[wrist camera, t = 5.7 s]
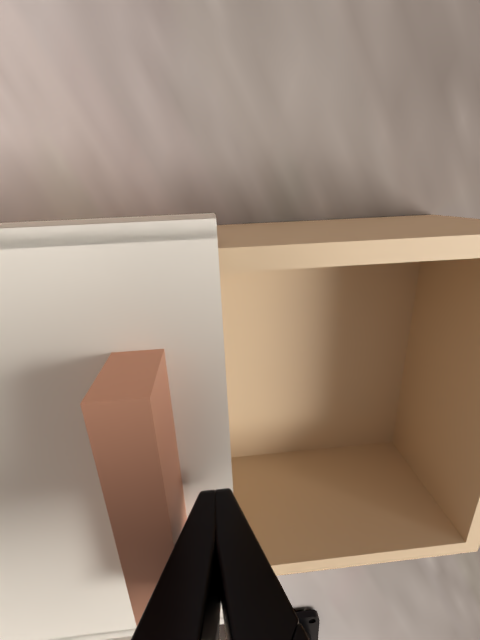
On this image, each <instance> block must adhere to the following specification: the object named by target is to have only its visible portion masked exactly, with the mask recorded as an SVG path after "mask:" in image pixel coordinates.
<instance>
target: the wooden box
mask: <svg viewBox="0 0 480 640" xmlns="http://www.w3.org/2000/svg"><path fill="white" fill-rule="evenodd" d="M217 239H218V255H219V271H220V287H221V303H222V319H223V335H224V351H225V367H226V383H227V399H228V415H229V431H230V447H231V463H232V479H233V494H234V496H235V498H236V500H237V502H238V504H239V506H240V507H241V509H242V511H243V513H244V515H245V517H246V519H247V521H248V523H249V525H250V527H251V529H252V531H253V532H254V534H255V536H256V538H257V540H258V542H259V544H260V546H261V548H262V550H263V552H264V554H265V555H266V557H267V559H268V561H269V563H270V565H271V567H272V569H273V571H274V573H275V575H276V576H278V575H286V574H295V573H303V572H311V571H319V570H328V569H336V568H344V567H352V566H361V565H369V564H377V563H385V562H393V561H402V560H410V559H418V558H426V557H435V556H443V555H451V554H459V553H468V552H476V551H478V548H479V545H480V219H472V218H462V217H451V216H441V215H415V216H395V217H374V218H354V219H333V220H312V221H292V222H271V223H250V224H230V225H217Z"/></svg>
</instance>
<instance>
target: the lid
mask: <svg viewBox="0 0 480 640" xmlns="http://www.w3.org/2000/svg"><path fill="white" fill-rule="evenodd" d="M223 488H230V489H231V490H232V492H233V479H232V463H231V447H230V431H229V415H228V399H227V383H226V367H225V351H224V335H223V319H222V303H221V287H220V271H219V255H218V239H217V223H216V216H215V213H202V214H180V215H158V216H136V217H115V218H93V219H71V220H49V221H28V222H6V223H0V640H105V639H112V638H120V637H128V636H133V634H134V632H135V629H136V627H137V625H138V623H139V621H140V619H141V617H142V614H143V612H144V610H145V608H146V606H147V604H148V602H149V599H150V597H151V595H152V593H153V591H154V589H155V587H156V584H157V582H158V580H159V578H160V576H161V574H162V572H163V569H164V567H165V565H166V563H167V561H168V559H169V557H170V554H171V552H172V550H173V548H174V546H175V544H176V542H177V539H178V537H179V535H180V533H181V531H182V529H183V527H184V524H185V522H186V520H187V518H188V516H189V514H190V512H191V509H192V507H193V505H194V503H195V501H196V499H197V497H198V494H199V493H200V492H201V491H204V490H216V489H223ZM220 624H224V620H223V613H222V605H221V610H220Z"/></svg>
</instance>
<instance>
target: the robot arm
mask: <svg viewBox="0 0 480 640" xmlns="http://www.w3.org/2000/svg"><path fill="white" fill-rule="evenodd" d="M221 605H222V613H223V620H224V627H225V634H226V640H318V631H319V617H318V613H317V611H315V610H308V611H300V612H295V611H294V609H293V607H292V605H291V603H290V601H289V600H288V598H287V596H286V594H285V592H284V590H283V588H282V586H281V584H280V582H279V580H278V578H277V577H276V575H275V573H274V571H273V569H272V567H271V565H270V563H269V561H268V559H267V557H266V555H265V554H264V552H263V550H262V548H261V546H260V544H259V542H258V540H257V538H256V536H255V534H254V532H253V531H252V529H251V527H250V525H249V523H248V521H247V519H246V517H245V515H244V513H243V511H242V509H241V507H240V506H239V504H238V502H237V500H236V498H235V496H234V494H233V492H232V490H231V489H230V488H223V489H216V490H204V491H201V492H200V493H199V494H198V497H197V499H196V501H195V503H194V505H193V507H192V509H191V512H190V514H189V516H188V518H187V520H186V522H185V524H184V527H183V529H182V531H181V533H180V535H179V537H178V539H177V542H176V544H175V546H174V548H173V550H172V552H171V554H170V557H169V559H168V561H167V563H166V565H165V567H164V569H163V572H162V574H161V576H160V578H159V580H158V582H157V584H156V587H155V589H154V591H153V593H152V595H151V597H150V599H149V602H148V604H147V606H146V608H145V610H144V612H143V614H142V617H141V619H140V621H139V623H138V625H137V627H136V629H135V632H134V634H133V636H132V638H131V640H219V626H220V610H221Z"/></svg>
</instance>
